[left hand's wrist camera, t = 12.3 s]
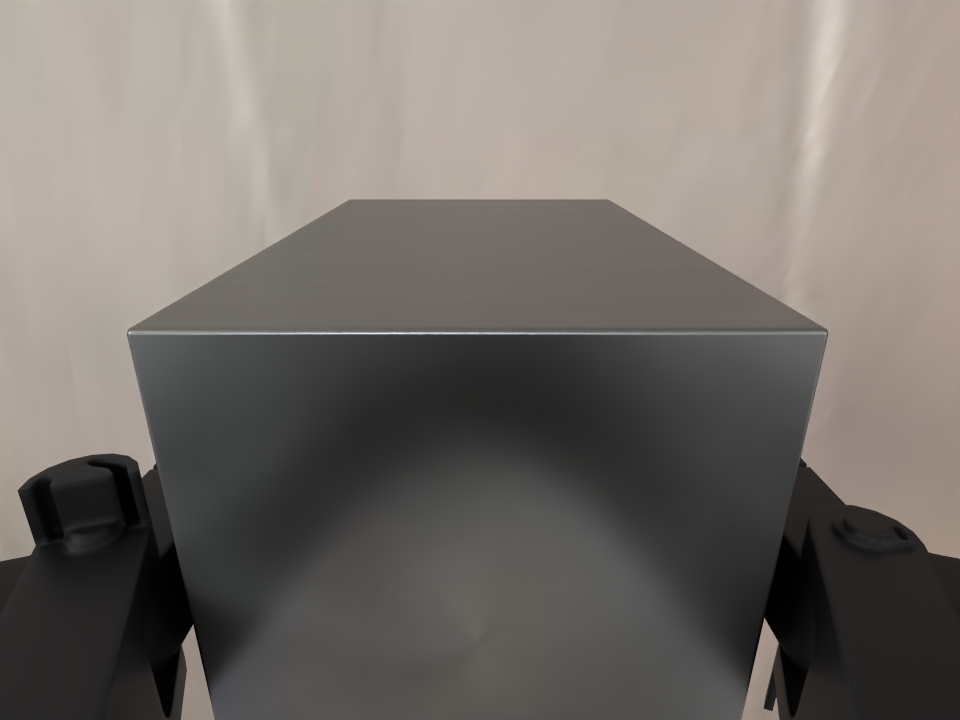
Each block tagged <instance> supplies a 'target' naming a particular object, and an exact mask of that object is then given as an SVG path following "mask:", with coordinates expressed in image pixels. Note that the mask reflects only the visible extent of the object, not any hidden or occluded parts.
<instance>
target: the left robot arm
mask: <svg viewBox="0 0 960 720" xmlns="http://www.w3.org/2000/svg"><path fill="white" fill-rule="evenodd" d="M153 467H154V468H153V470H149V471H148V472H147V474H146V475H145V476H144V477H143V478H142V479H141V475H140V470H139V466H138V462H137V461H135V460H134V459H132V458H131V457H129V456H125V455H118V454H99V455H90V456H85V457H81V458H76V459H72V460H68V461H66V462H63V463H60V464H58V465H55V466H52V467H50V468H47V469H46V470H44V471H42V472H40V473H39V474H37V475H35V476H33V477H32V478H30V479H29V480H28V481H27V482H26V483H25V484H24V485H23V486H22V487H21V488H20V489H19V490H18V493H19V496H20V499H21V502H22V505H23V508H24V511H25V514H26V517H27V520H28V523H29V526H30V529H31V532H32V535H33V538H34V541H35V544H36V547H35V548H34V550H33V552H32V554H31V555H30V556H26V557H22V558H16V559H11V560H6V561H1V562H0V720H181V712H182V704H183V696H184V688H185V680H186V672H187V668H186V662H185V656H184V652H183V648H182V643H183V641H184V639H185V637H186V636H187V634H188V632H189V630H190V629H191V627H192V625H193V621H192V616H191V612H190V607H189V603H188V599H187V594H186V590H185V586H184V581H183V577H182V572H181V568H180V564H179V559H178V555H177V551H176V546H175V542H174V538H173V533H172V529H171V524H170V520H169V516H168V511H167V507H166V503H165V498H164V494H163V489H162V485H161V481H160V476H159V472H158V468H157V463H156V464H155V465H154V466H153ZM764 618H765V619H766V621H767V623H768V625H769V626H770V628H771V630H772V631H773V633H774V635H775V637H776V638H777V640H778V642H779V644H778V648H777V652H776V656H775V660H774V665H773V669H772V673H771V677H770V681H769V685H768V689H767V693H766V698H765V704H764V709H767V710H771V711H772V710H773V706H774V702H775V698H777V703H778V711H779V719H780V720H960V559H958V558H953V557H947V556H942V555H937V554H933V553H929V552H928V551H927V549H926V547H925V545H924V544H923V543H922V542H921V540H920V539H919V538H918V537H917V536H916V534H915V533H914V532H913V531H911V530H910V529H908V528H907V527H905V526H904V525H902V524H901V523H900V522H898V521H897V520H895V519H892V518H890V517H888V516H885V515H883V514H881V513H879V512H876V511H873V510H869V509H865V508H862V507H858V506H854V505H845V504H844V503H843V501H842V500H841V499H840V498H839V497H838V496H837V495H836V494H835V493H834V492H833V491H832V490H831V489H830V488H829V487H828V486H827V485H826V484H825V483H824V482H823V481H822V480H821V479H820V477H819V476H818V475H817V474H816V473H815V472H814V471H813V470H812V469H811V468H810V467H807V464H806V463H805V462H804V461H803V460H802V459H801V458H800V461H799V466H798V470H797V475H796V479H795V484H794V488H793V492H792V497H791V501H790V506H789V510H788V515H787V519H786V523H785V528H784V532H783V537H782V541H781V546H780V550H779V554H778V559H777V563H776V568H775V572H774V577H773V581H772V585H771V590H770V594H769V599H768V603H767V608H766V612H765V617H764ZM762 626H763V625H762Z"/></svg>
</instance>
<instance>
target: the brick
mask: <svg viewBox="0 0 960 720" xmlns="http://www.w3.org/2000/svg"><path fill="white" fill-rule="evenodd" d="M127 337H128V341H129V345H130V350H131V354H132V358H133V363H134V367H135V371H136V376H137V380H138V385H139V389H140V393H141V398H142V402H143V406H144V411H145V415H146V420H147V424H148V428H149V433H150V437H151V441H152V446H153V450H154V454H155V459H156V463H157V468H158V472H159V476H160V481H161V485H162V489H163V494H164V498H165V503H166V507H167V511H168V516H169V520H170V524H171V529H172V533H173V538H174V542H175V546H176V551H177V555H178V559H179V564H180V568H181V572H182V577H183V581H184V586H185V590H186V594H187V599H188V603H189V607H190V612H191V616H192V621H193V625H194V629H195V634H196V638H197V642H198V647H199V651H200V655H201V660H202V664H203V669H204V673H205V677H206V682H207V686H208V690H209V695H210V699H211V704H212V708H213V712H214V717H215V720H741V718H742V714H743V710H744V705H745V701H746V696H747V692H748V687H749V683H750V679H751V674H752V670H753V665H754V661H755V656H756V652H757V648H758V643H759V639H760V634H761V630H762V625H763V621H764V617H765V612H766V608H767V603H768V599H769V594H770V590H771V585H772V581H773V577H774V572H775V568H776V563H777V559H778V554H779V550H780V546H781V541H782V537H783V532H784V528H785V523H786V519H787V515H788V510H789V506H790V501H791V497H792V492H793V488H794V484H795V479H796V475H797V470H798V466H799V461H800V457H801V453H802V448H803V444H804V439H805V435H806V430H807V426H808V422H809V417H810V413H811V408H812V404H813V399H814V395H815V391H816V386H817V382H818V377H819V373H820V368H821V364H822V360H823V355H824V351H825V346H826V342H827V337H828V331H827V329H825V328H824V327H822V326H820V325H819V324H817V323H815V322H814V321H812V320H810V319H809V318H807V317H805V316H804V315H802V314H800V313H799V312H797V311H795V310H793V309H792V308H790V307H788V306H787V305H785V304H783V303H782V302H780V301H778V300H777V299H775V298H773V297H772V296H770V295H768V294H767V293H765V292H763V291H762V290H760V289H758V288H756V287H755V286H753V285H751V284H750V283H748V282H746V281H745V280H743V279H741V278H740V277H738V276H736V275H735V274H733V273H731V272H730V271H728V270H726V269H724V268H723V267H721V266H719V265H718V264H716V263H714V262H713V261H711V260H709V259H708V258H706V257H704V256H703V255H701V254H699V253H698V252H696V251H694V250H692V249H691V248H689V247H687V246H686V245H684V244H682V243H681V242H679V241H677V240H676V239H674V238H672V237H671V236H669V235H667V234H666V233H664V232H662V231H660V230H659V229H657V228H655V227H654V226H652V225H650V224H649V223H647V222H645V221H644V220H642V219H640V218H639V217H637V216H635V215H634V214H632V213H630V212H628V211H627V210H625V209H623V208H622V207H620V206H618V205H617V204H615V203H613V202H612V201H610V200H348V201H346V202H345V203H343V204H341V205H340V206H338V207H336V208H335V209H333V210H331V211H329V212H328V213H326V214H324V215H323V216H321V217H319V218H317V219H316V220H314V221H312V222H311V223H309V224H307V225H306V226H304V227H302V228H300V229H299V230H297V231H295V232H294V233H292V234H290V235H288V236H287V237H285V238H283V239H282V240H280V241H278V242H277V243H275V244H273V245H271V246H270V247H268V248H266V249H265V250H263V251H261V252H259V253H258V254H256V255H254V256H253V257H251V258H249V259H248V260H246V261H244V262H242V263H241V264H239V265H237V266H236V267H234V268H232V269H230V270H229V271H227V272H225V273H224V274H222V275H220V276H219V277H217V278H215V279H213V280H212V281H210V282H208V283H207V284H205V285H203V286H201V287H200V288H198V289H196V290H195V291H193V292H191V293H190V294H188V295H186V296H184V297H183V298H181V299H179V300H178V301H176V302H174V303H172V304H171V305H169V306H167V307H166V308H164V309H162V310H161V311H159V312H157V313H155V314H154V315H152V316H150V317H149V318H147V319H145V320H143V321H142V322H140V323H138V324H137V325H135V326H133V327H132V328H130V329H128V332H127Z"/></svg>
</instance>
